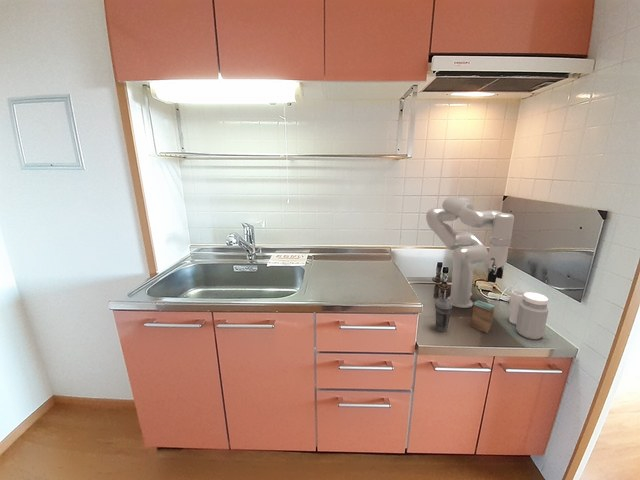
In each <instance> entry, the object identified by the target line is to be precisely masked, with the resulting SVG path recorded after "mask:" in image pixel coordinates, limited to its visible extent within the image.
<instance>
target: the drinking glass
mask: <svg viewBox="0 0 640 480" xmlns="http://www.w3.org/2000/svg"><path fill="white" fill-rule="evenodd" d="M526 292H527V291H524V290H519V289H513V290H512V291H511V294H510V301H509V318H508V321H509V323H512V324H513V325H516V324H517V318H518V312H519V306H520V302H522V301H523V295H524V293H526Z"/></svg>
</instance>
